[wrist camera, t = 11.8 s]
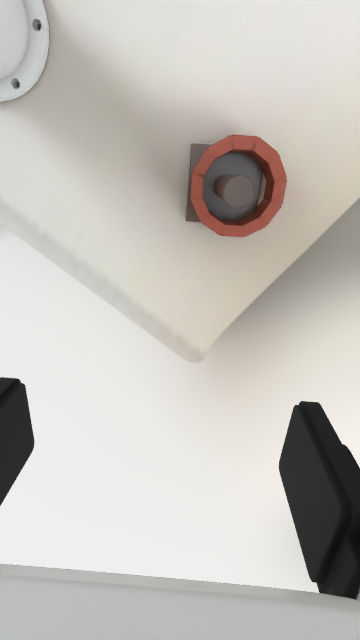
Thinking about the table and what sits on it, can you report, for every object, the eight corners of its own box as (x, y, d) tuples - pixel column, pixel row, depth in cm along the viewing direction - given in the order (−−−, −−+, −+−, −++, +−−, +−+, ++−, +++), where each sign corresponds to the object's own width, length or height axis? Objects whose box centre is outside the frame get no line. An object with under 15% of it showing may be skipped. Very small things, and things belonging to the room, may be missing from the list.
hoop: (188, 227, 38) (187, 233, 34) (195, 136, 34) (195, 132, 30) (268, 233, 38) (276, 239, 34) (283, 142, 34) (294, 138, 30)
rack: (186, 219, 38) (181, 242, 26) (191, 144, 35) (189, 126, 22) (252, 224, 38) (281, 249, 26) (264, 149, 35) (304, 134, 22)
